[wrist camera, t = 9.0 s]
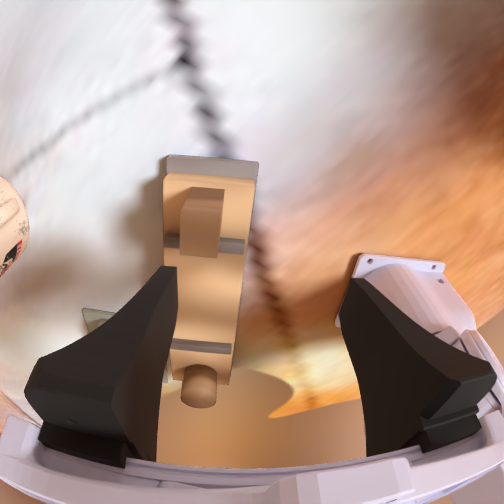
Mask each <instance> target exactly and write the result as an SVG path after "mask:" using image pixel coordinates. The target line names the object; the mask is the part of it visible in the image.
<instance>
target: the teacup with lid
mask: <svg viewBox="0 0 504 504" xmlns="http://www.w3.org/2000/svg"><path fill="white" fill-rule="evenodd" d="M28 239H29V221H28V216H27V212H26V209H25V206H24V204H23V202H22V200H21V198H20V196H19V194H18V193H17V191H16V190H15V189H14V187H13V186H12V185H11V184H10V183H9V182H8V181H7V180H5V179H4V178H2V177H0V277H1V276H2V275H3V273H4V272H5V271H6V270H7V269H8V268H9V267H10V266H11V264H12V263H13V262H14V261H15V260H16V259H17V258H18V257H19V256H20V255H21V254H22V252H23V251H24V250H25V248H26V246H27V243H28Z"/></svg>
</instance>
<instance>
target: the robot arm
mask: <svg viewBox="0 0 504 504" xmlns="http://www.w3.org/2000/svg"><path fill="white" fill-rule="evenodd" d="M369 259H371V260H370V261H368V260H369ZM367 261H368V262H367ZM433 265H434V266H433ZM432 266H433V267H432ZM444 269H445V264H444V263H443V262H442V261H433V260H423V259H414V258H405V257H395V256H386V255H376V254H366V253H364V254H361V255H360V256H359V257H358V260H357V263H356V266H355V268H354V271H353V274H352V277H351V280H350V283H349V285H348V288H347V291H346V294H345V296H344V299H343V302H342V304H341V307H340V309H339V312H338V315H337V317H336V320H335V326H336V327H338V328H341V330H342V335H343V338H344V341H345V344H346V347H347V350H348V352H349V355H350V358H351V361H352V364H353V367H354V370H355V373H356V376H357V380H358V384H359V389H360V394H361V400H362V406H363V413H364V432H365V437H366V456H367V457H365V458H360V459H354V460H348V461H342V462H335V463H327V464H319V465H310V466H299V467H285V468H265V469H264V468H261V469H232V468H231V469H230V468H208V467H207V468H206V467H194V466H183V465H173V464H165V463H158V462H156V451H157V431H158V417H159V406H160V397H161V388H162V380H163V375H164V370H165V366H166V362H167V358H168V354H169V350H170V347H171V343H172V339H173V335H174V331H175V327H176V320H177V313H178V284H177V267H174V266H161V267H160V268H159V269H158V270H157V271H156V272H155V274H154V275H153V276H152V277H151V278H150V279H149V281H148V282H147V283H146V284H145V285H144V286H143V287H142V288H141V289H140V290H139V291H138V293H137V294H136V295H135V296H134V297H133V298H132V299H131V300H130V301H129V302H128V303H127V304H125V305H124V306H123V307H122V308H121V309H120V310H119V311H118V312H117V313H116V314H115V315H113V316H112V317H111V318H110V319H108V320H107V321H106V322H105V323H103V324H102V325H101V326H99V327H98V328H96V329H95V330H93V331H92V332H90V333H89V334H87V335H86V336H84V337H82V338H81V339H79V340H77V341H75V342H74V343H72V344H70V345H68V346H66V347H64V348H62V349H60V350H58V351H55V352H53V353H51V354H48V355H46V356H44V357H41V358H39V359H38V361H37V363H36V365H35V366H34V368H33V371H32V373H31V375H30V377H29V380H28V382H27V384H26V387H25V389H24V394H25V397H26V399H27V401H28V402H29V404H30V405H31V406H32V408H33V409H34V410H35V411H36V412H37V414H38V415H39V416H40V417H41V419H42V420H43V421H44V422H43V425H42V428H40V427H38V426H37V425H35V424H33V423H31V422H28V421H25V420H23V419H20V418H18V417H15V416H13V415H8V417H7V420H6V423H5V425H4V428H3V431H2V434H1V437H0V479H1V480H3V481H5V482H6V483H8V484H9V485H11V486H13V487H14V488H16V489H18V490H19V491H21V492H23V493H25V494H26V495H29V496H31V497H33V498H35V499H38V500H40V501H42V502H45V503H47V504H427V503H430V502H432V501H434V500H437V499H439V498H441V497H443V496H445V495H449V496H450V498H451V500H452V501H453V503H454V504H504V369H503V367H502V365H501V364H500V363H499V361H498V359H497V358H496V356H495V355H494V353H493V351H492V350H491V349H490V347H489V346H488V344H487V343H486V342H485V340H484V339H483V337H482V336H481V335H480V334H479V333H478V331H476V323H475V319H474V316H473V314H472V312H471V310H470V309H469V307H468V306H467V304H466V303H465V302H464V300H463V299H462V298H461V297H460V295H459V294H458V293H457V291H456V290H455V289H454V287H453V286H452V285H451V284H450V282H449V281H448V280H447V279H446V277H445V276H444V275H443V274H442V273H443V271H444Z"/></svg>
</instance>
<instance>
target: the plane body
mask: <svg viewBox="0 0 504 504" xmlns="http://www.w3.org/2000/svg"><path fill="white" fill-rule="evenodd" d="M258 169H259V163H258V162H253V161H244V160H234V159H224V158H212V157H200V156H185V155H169V156H168V157H167V168H166V177H165V178H164V180H163V248H164V266H174V267H177V284H178V313H177V320H176V327H175V331H174V335H173V339H172V343H171V347H170V358H171V367H172V376H173V380H180V381H183V383H182V391H181V400H182V402H184V403H185V404H186V405H188V406H191V407H195V408H208V407H211V406H213V405H215V403H216V393H217V392H216V391H217V384H223V385H229V379H230V376H231V368H232V361H233V353H234V346H235V338H236V330H237V323H238V315H239V308H240V301H241V293H242V286H243V278H244V271H245V263H246V256H247V249H248V241H249V234H250V227H251V220H252V212H253V205H254V198H255V191H256V183H257V176H258Z"/></svg>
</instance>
